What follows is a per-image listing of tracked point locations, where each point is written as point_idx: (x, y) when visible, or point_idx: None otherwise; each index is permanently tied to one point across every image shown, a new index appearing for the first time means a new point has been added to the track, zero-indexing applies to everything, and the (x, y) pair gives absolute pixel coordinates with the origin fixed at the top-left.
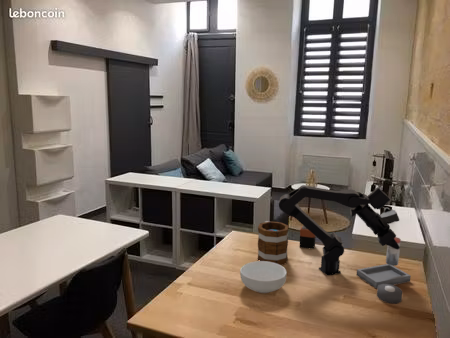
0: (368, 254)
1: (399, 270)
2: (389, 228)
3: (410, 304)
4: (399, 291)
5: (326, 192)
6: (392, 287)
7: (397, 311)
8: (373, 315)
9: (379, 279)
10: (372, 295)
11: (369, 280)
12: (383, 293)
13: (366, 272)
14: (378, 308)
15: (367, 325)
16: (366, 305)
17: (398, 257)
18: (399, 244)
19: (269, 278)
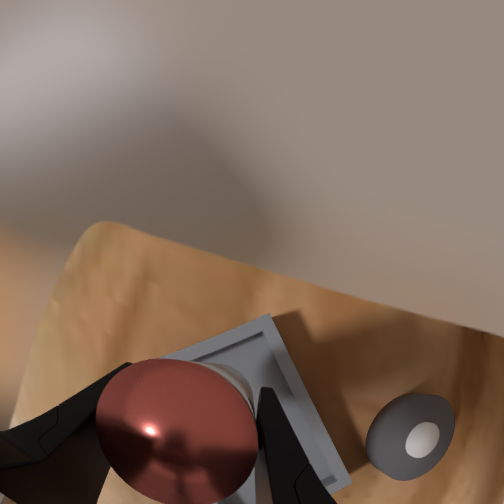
0: (29, 379)
1: (213, 348)
2: (8, 469)
3: (436, 369)
4: (432, 405)
5: None
6: (421, 431)
7: (467, 412)
8: (475, 467)
9: None
10: (390, 483)
11: None
12: (439, 458)
13: None
14: (454, 461)
15: (497, 471)
16: (438, 491)
17: (238, 374)
18: (237, 385)
19: None
